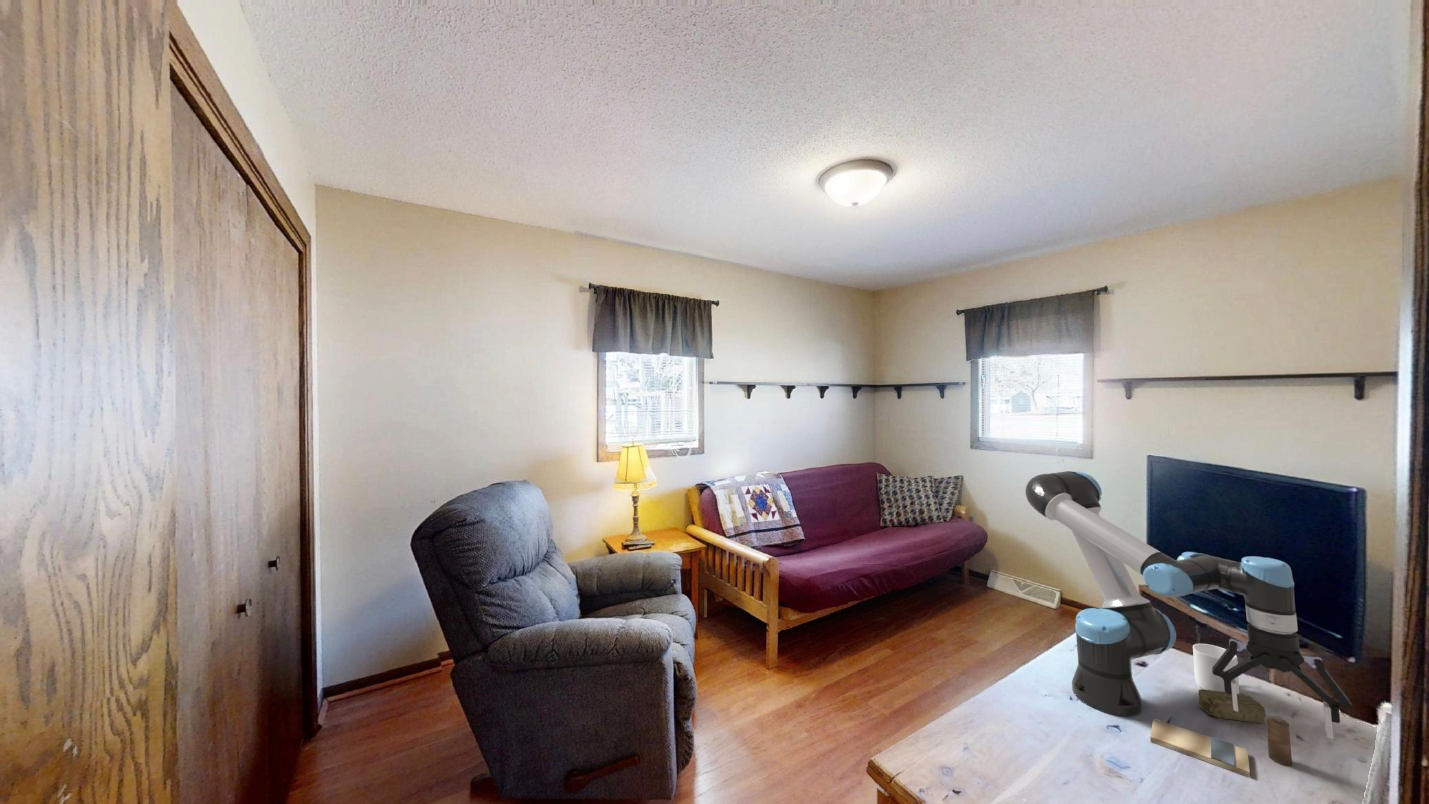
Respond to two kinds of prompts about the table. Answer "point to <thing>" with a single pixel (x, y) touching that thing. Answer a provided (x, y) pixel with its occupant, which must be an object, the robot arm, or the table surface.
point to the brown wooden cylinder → (1279, 740)
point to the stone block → (1231, 706)
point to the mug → (1210, 667)
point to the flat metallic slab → (1201, 747)
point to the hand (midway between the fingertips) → (1280, 721)
